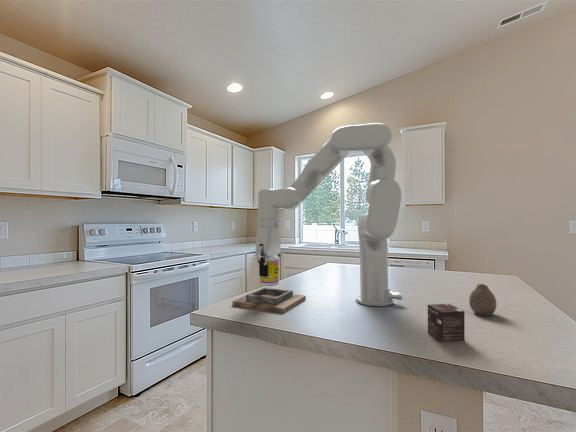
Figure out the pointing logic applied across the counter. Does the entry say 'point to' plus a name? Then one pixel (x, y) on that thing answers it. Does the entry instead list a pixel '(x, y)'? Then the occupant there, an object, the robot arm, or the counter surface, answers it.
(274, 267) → the supplement bottle
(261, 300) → the board
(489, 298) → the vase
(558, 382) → the counter surface
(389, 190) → the robot arm
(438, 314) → the box
